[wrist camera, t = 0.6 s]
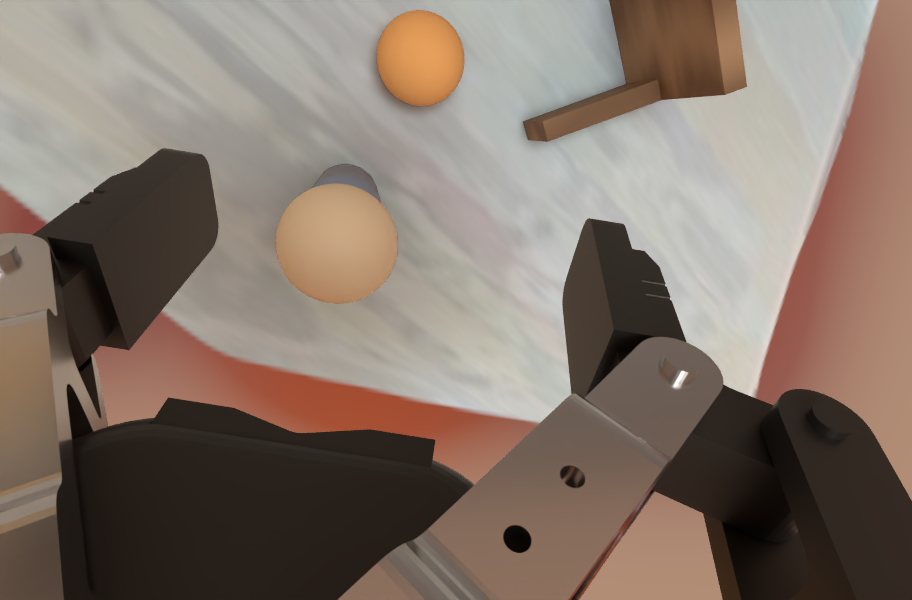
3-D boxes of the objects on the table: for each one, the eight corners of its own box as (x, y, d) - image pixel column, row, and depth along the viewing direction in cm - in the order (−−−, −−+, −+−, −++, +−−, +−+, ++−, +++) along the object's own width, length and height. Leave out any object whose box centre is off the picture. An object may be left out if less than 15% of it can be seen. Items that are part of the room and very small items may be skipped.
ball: (363, 34, 32) (363, 19, 28) (441, 7, 33) (454, -12, 28) (392, 118, 34) (397, 117, 29) (466, 92, 34) (483, 86, 30)
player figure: (298, 173, 34) (242, 218, 18) (366, 149, 34) (373, 171, 18) (327, 240, 36) (300, 338, 19) (392, 216, 36) (420, 293, 20)
